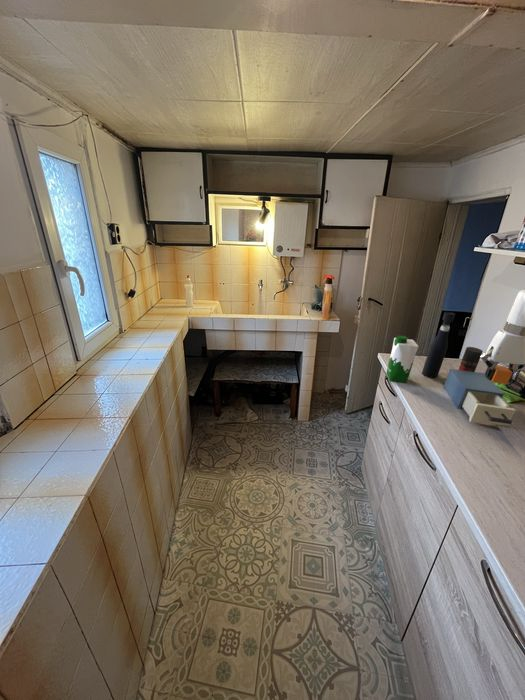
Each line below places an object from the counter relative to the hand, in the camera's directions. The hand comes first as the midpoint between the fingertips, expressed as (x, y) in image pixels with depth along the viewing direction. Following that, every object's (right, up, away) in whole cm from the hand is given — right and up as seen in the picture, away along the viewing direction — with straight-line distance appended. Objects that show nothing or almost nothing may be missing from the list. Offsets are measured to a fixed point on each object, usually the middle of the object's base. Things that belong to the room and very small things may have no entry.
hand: (496, 378), depth 96 cm
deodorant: (+11, -4, +32) cm, 34 cm away
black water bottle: (-2, -2, +35) cm, 35 cm away
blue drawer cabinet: (+2, -10, +17) cm, 20 cm away
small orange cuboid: (0, 0, 0) cm, 0 cm away
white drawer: (0, -14, +6) cm, 15 cm away
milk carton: (-20, -3, +31) cm, 37 cm away
